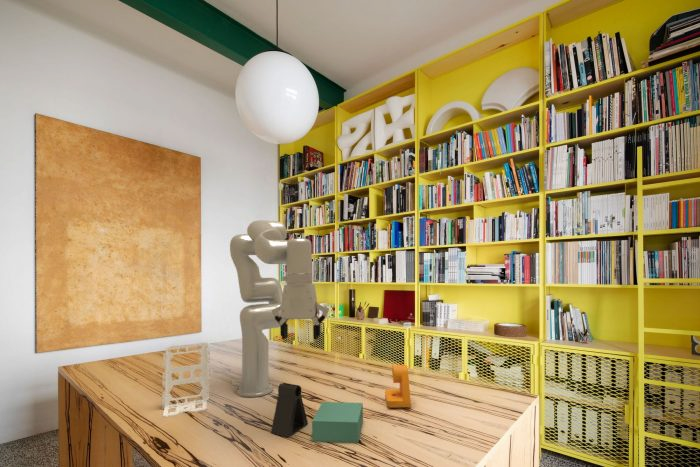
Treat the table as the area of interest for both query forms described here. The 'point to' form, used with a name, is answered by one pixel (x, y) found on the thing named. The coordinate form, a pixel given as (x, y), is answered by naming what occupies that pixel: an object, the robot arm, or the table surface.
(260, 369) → the robot arm
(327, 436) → the green block
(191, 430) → the table surface
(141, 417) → the table surface
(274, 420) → the phone stand
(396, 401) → the bracket
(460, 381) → the table surface
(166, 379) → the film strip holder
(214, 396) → the table surface
